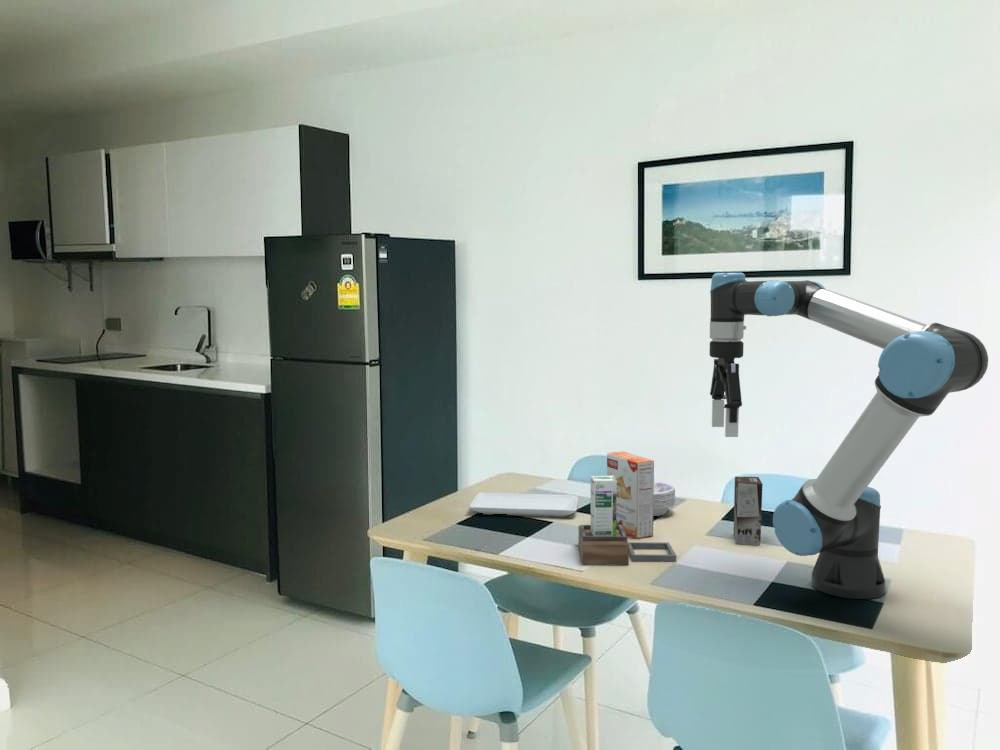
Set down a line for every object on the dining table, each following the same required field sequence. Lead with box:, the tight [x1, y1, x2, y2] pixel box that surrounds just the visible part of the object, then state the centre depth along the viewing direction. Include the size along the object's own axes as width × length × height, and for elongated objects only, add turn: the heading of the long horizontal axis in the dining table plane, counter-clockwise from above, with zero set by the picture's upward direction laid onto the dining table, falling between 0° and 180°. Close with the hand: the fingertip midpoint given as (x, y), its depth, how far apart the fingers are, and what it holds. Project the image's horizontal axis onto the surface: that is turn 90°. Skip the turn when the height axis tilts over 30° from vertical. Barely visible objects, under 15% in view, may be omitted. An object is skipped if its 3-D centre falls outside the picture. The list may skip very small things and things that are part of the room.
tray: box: [468, 491, 580, 518], centre depth 250 cm, size 17×32×4 cm, turn 82°
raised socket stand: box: [577, 524, 630, 566], centre depth 208 cm, size 16×11×6 cm
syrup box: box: [589, 475, 617, 536], centre depth 208 cm, size 6×6×14 cm
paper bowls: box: [653, 481, 676, 517], centre depth 246 cm, size 15×15×8 cm
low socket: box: [628, 541, 677, 563], centre depth 208 cm, size 11×11×2 cm
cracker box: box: [606, 451, 655, 540], centre depth 227 cm, size 14×6×21 cm, turn 27°
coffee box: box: [733, 476, 763, 546], centre depth 219 cm, size 9×6×16 cm
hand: (724, 431), depth 194 cm, fingers open, 13 cm apart
